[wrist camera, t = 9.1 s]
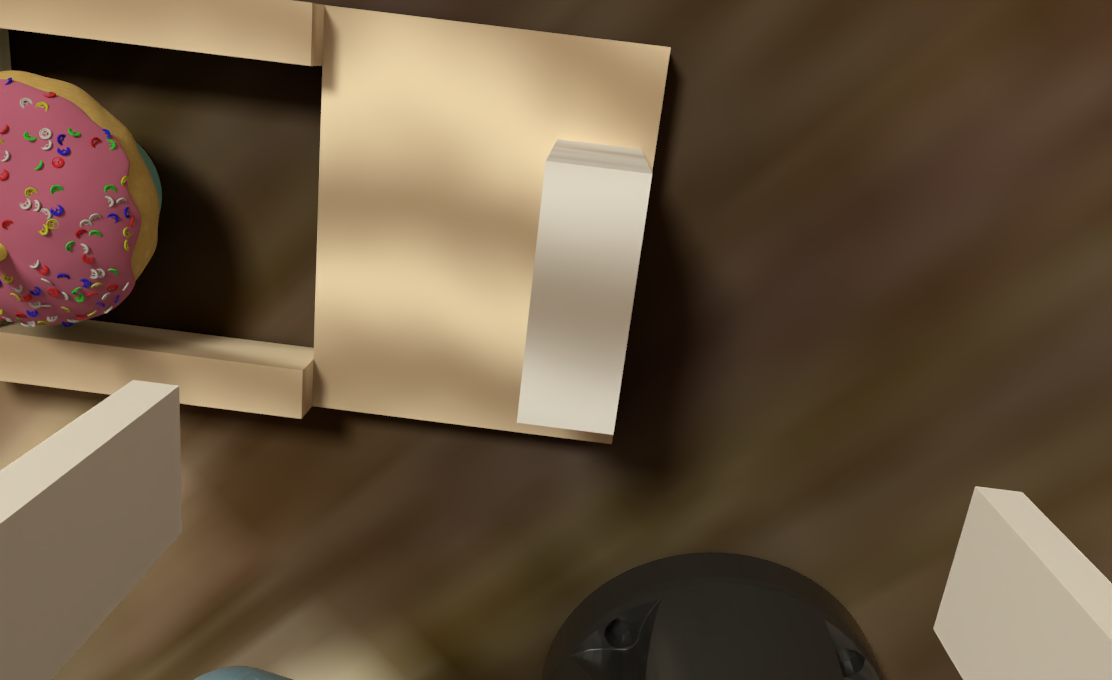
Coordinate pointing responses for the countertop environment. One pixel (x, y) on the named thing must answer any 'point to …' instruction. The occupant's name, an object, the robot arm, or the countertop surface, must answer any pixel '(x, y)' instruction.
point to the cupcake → (69, 204)
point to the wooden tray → (412, 220)
